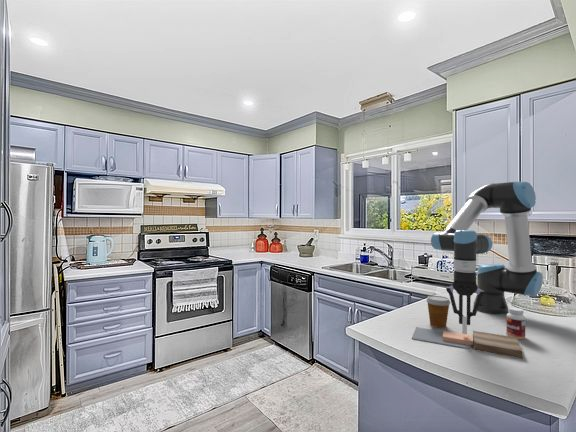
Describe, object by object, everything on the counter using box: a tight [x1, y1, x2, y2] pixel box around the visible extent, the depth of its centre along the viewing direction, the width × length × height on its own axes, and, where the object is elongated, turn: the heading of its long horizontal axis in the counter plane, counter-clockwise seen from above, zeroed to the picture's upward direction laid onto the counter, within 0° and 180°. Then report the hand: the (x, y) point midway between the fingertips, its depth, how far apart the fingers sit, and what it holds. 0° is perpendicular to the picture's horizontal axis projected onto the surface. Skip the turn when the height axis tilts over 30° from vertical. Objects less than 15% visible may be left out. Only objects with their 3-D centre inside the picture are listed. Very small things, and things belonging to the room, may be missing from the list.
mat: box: [411, 326, 472, 350], centre depth 126 cm, size 14×20×1 cm
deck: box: [472, 330, 523, 359], centre depth 118 cm, size 14×14×2 cm
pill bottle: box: [505, 307, 527, 340], centre depth 128 cm, size 6×6×11 cm
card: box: [442, 330, 474, 346], centre depth 123 cm, size 7×10×2 cm
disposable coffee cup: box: [426, 295, 451, 329], centre depth 140 cm, size 10×10×12 cm
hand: (464, 332), depth 122 cm, fingers closed
